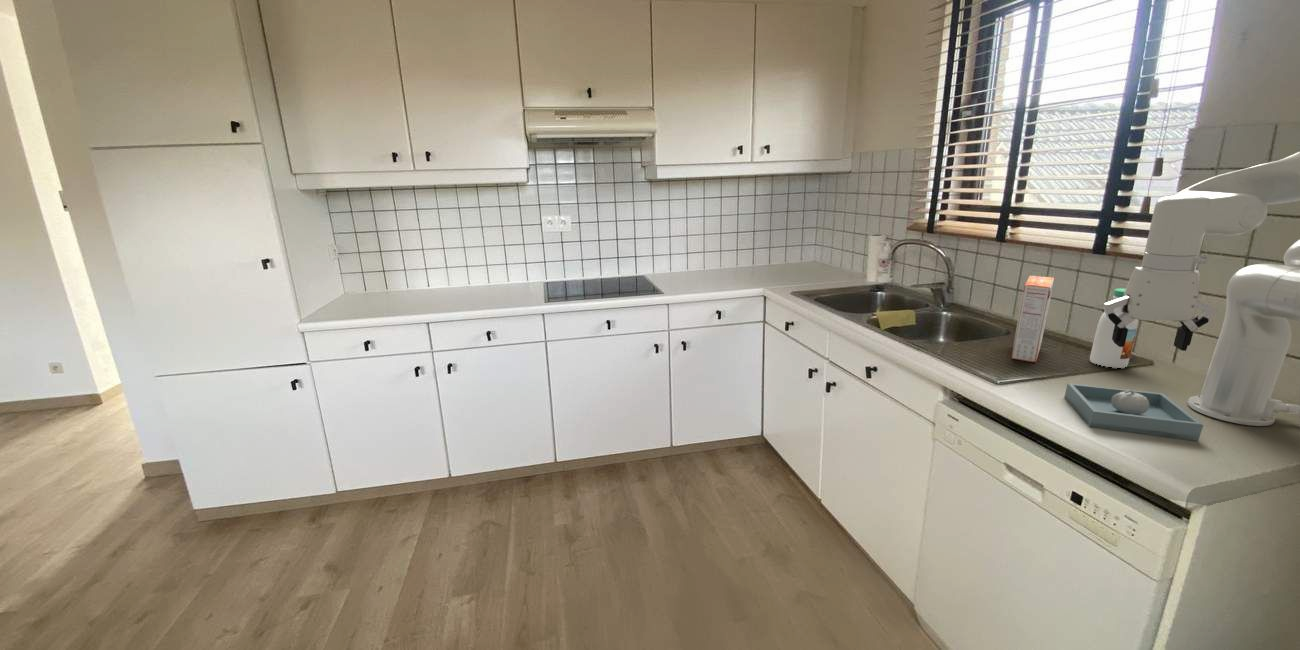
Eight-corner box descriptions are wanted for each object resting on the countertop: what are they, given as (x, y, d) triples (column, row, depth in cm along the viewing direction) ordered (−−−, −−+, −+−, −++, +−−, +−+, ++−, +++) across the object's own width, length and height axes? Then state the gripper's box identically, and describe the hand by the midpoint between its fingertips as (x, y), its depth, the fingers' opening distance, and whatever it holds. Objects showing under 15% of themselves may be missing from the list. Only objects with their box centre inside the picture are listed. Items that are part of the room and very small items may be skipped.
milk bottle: (1106, 369, 135) (1126, 294, 130) (1081, 359, 143) (1098, 286, 137) (1135, 368, 136) (1156, 293, 130) (1108, 358, 143) (1127, 286, 137)
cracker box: (1015, 345, 154) (1029, 274, 148) (1040, 349, 151) (1056, 277, 144) (1008, 358, 144) (1023, 283, 138) (1035, 363, 140) (1052, 286, 134)
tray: (1158, 408, 114) (1163, 393, 113) (1198, 441, 101) (1203, 424, 100) (1064, 397, 120) (1067, 383, 119) (1089, 427, 107) (1093, 411, 106)
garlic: (1115, 416, 109) (1121, 393, 108) (1105, 405, 114) (1111, 383, 112) (1152, 420, 107) (1159, 397, 105) (1140, 409, 112) (1146, 387, 110)
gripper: (1216, 259, 101) (1194, 343, 106) (1104, 258, 107) (1088, 337, 113) (1241, 267, 95) (1216, 356, 100) (1121, 265, 101) (1102, 349, 106)
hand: (1148, 346), depth 106 cm, fingers open, 9 cm apart
